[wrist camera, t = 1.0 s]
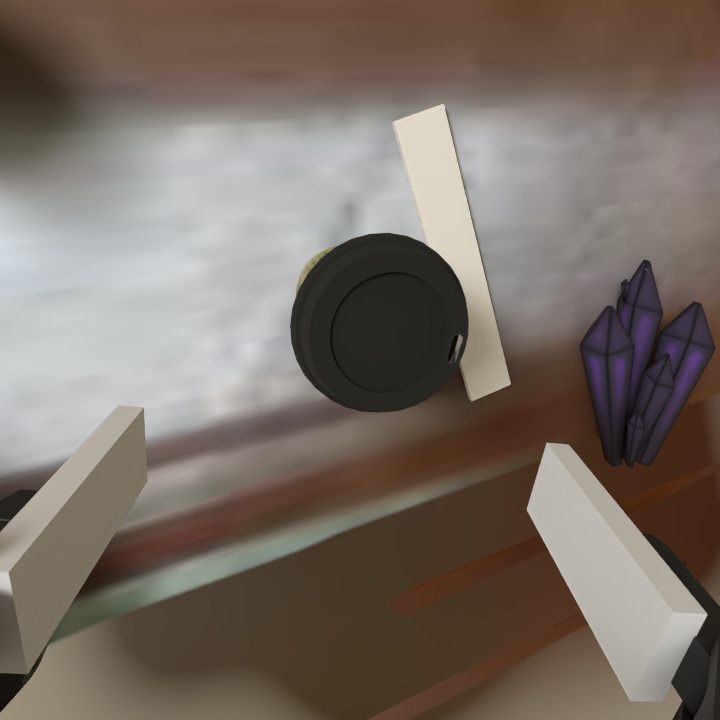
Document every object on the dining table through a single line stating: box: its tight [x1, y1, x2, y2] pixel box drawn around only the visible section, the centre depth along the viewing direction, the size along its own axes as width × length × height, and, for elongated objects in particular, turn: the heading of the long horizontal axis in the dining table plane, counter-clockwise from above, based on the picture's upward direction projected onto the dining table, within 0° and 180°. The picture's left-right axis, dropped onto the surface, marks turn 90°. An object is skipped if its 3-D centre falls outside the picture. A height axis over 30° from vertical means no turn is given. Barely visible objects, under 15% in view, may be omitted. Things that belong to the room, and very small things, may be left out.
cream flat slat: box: [392, 104, 511, 401], centre depth 40 cm, size 4×24×1 cm, turn 19°
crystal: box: [580, 260, 715, 467], centre depth 44 cm, size 7×12×20 cm
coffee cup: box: [290, 233, 469, 412], centre depth 31 cm, size 10×10×15 cm
